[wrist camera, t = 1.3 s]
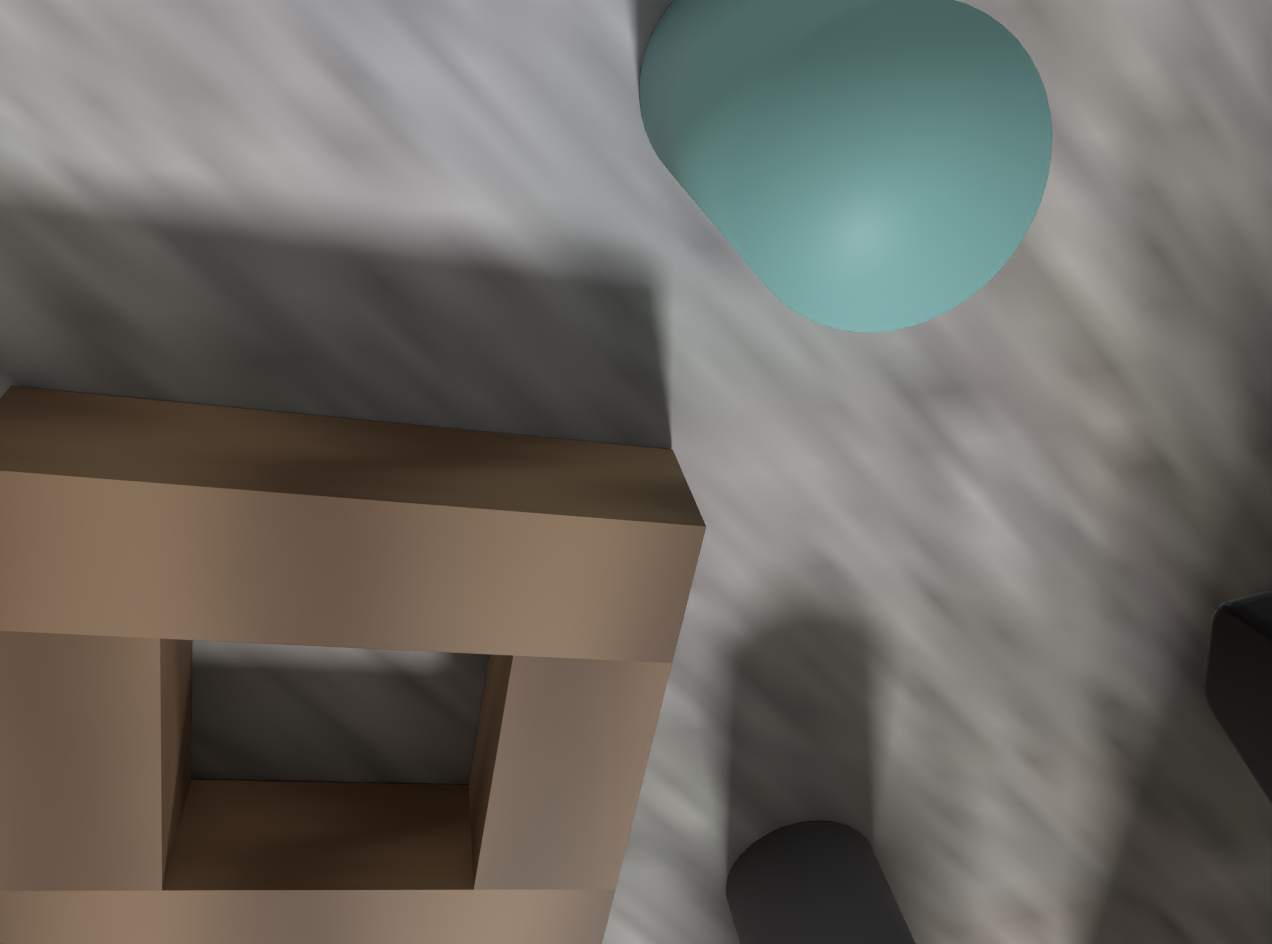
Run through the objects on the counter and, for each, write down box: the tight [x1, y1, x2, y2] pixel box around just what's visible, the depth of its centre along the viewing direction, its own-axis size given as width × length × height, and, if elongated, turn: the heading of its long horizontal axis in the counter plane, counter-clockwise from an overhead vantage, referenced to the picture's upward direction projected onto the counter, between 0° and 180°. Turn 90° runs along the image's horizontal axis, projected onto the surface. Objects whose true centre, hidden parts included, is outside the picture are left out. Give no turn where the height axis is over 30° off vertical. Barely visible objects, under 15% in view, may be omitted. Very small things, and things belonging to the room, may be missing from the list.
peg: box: [639, 0, 1052, 333], centre depth 16 cm, size 4×4×6 cm
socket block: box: [0, 386, 706, 944], centre depth 22 cm, size 12×12×3 cm
